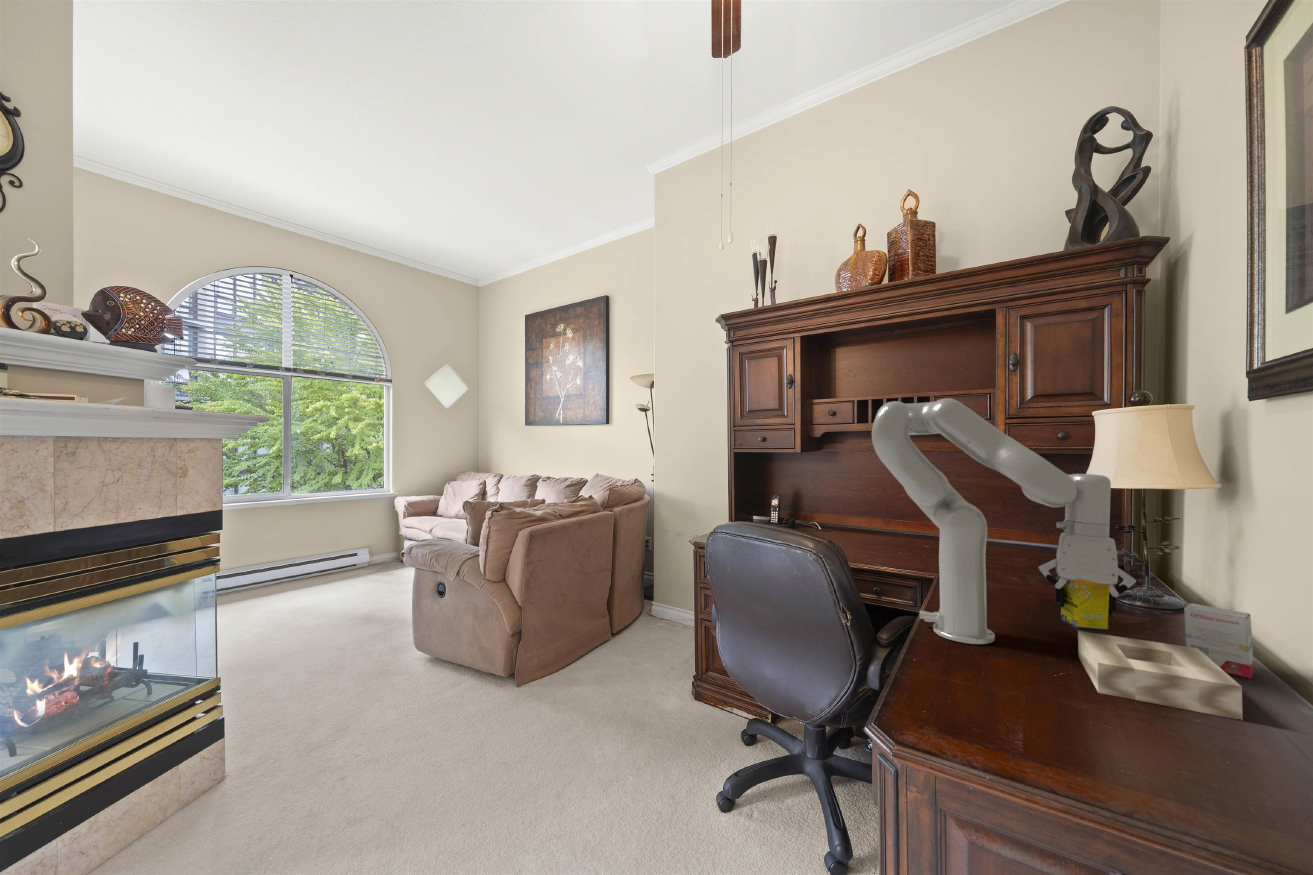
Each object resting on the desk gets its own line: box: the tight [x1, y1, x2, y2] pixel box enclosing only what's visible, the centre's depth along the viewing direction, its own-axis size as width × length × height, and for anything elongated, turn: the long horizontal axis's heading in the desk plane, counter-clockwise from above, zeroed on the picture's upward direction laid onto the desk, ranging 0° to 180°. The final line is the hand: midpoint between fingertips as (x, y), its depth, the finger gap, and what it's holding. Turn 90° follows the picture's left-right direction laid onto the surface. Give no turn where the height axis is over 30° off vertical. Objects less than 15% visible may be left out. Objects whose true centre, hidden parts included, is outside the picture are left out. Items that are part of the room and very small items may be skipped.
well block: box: [1077, 630, 1243, 721], centre depth 94 cm, size 18×18×6 cm
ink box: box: [1183, 602, 1254, 679], centre depth 101 cm, size 9×5×12 cm, turn 33°
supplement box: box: [1060, 580, 1109, 634], centre depth 111 cm, size 6×6×11 cm
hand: (1084, 608), depth 111 cm, fingers closed on supplement box, 7 cm apart
